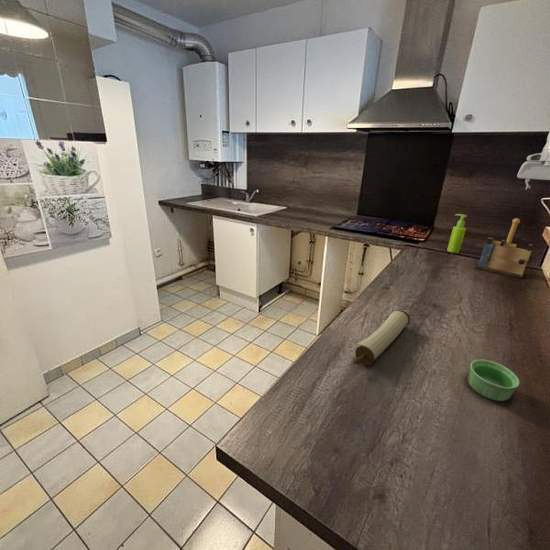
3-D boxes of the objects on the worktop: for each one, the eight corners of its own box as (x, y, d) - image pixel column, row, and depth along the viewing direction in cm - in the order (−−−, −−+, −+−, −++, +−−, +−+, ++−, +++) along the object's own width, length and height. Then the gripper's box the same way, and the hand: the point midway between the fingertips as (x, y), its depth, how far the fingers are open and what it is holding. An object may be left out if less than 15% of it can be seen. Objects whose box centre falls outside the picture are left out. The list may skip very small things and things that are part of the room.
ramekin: (468, 368, 72) (473, 354, 70) (513, 386, 67) (520, 371, 65) (462, 389, 65) (467, 374, 64) (511, 410, 60) (519, 395, 58)
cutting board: (522, 274, 130) (534, 244, 125) (521, 278, 126) (534, 247, 120) (477, 265, 140) (487, 236, 134) (476, 268, 136) (486, 238, 130)
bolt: (515, 246, 128) (526, 218, 123) (515, 248, 126) (526, 219, 121) (488, 242, 133) (497, 215, 128) (488, 243, 131) (497, 216, 127)
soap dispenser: (447, 248, 164) (457, 212, 156) (460, 251, 159) (471, 215, 151) (443, 250, 161) (453, 214, 153) (456, 253, 156) (467, 216, 148)
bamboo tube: (364, 376, 68) (368, 359, 66) (343, 365, 72) (346, 348, 70) (414, 324, 90) (417, 310, 88) (396, 317, 93) (399, 303, 91)
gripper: (586, 158, 120) (571, 192, 125) (523, 156, 131) (512, 187, 137) (588, 158, 115) (573, 193, 121) (523, 156, 127) (512, 188, 132)
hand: (540, 190), depth 129 cm, fingers open, 8 cm apart
